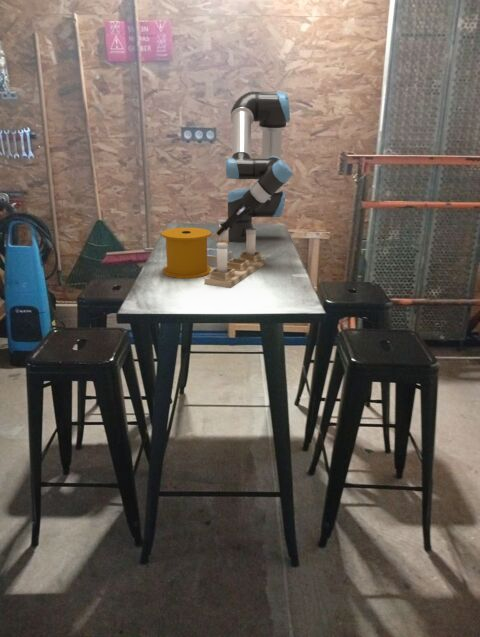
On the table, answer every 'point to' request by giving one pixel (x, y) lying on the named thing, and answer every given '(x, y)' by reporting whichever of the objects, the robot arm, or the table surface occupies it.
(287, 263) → the table surface
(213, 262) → the tray
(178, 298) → the table surface
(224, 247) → the fuse
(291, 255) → the table surface
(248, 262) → the fuse block
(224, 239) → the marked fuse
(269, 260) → the table surface
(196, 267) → the spool
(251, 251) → the fuse
